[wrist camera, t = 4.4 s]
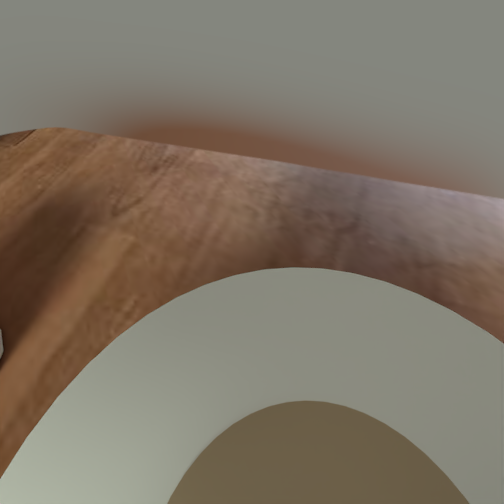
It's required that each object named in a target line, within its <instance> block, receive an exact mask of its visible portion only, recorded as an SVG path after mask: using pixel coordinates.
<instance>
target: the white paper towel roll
mask: <svg viewBox="0 0 504 504" xmlns="http://www.w3.org/2000/svg"><path fill="white" fill-rule="evenodd" d="M0 504H504V344H503V343H502V342H501V341H499V340H498V339H496V338H495V337H494V336H492V335H491V334H490V333H488V332H487V331H485V330H483V329H482V328H480V327H478V326H477V325H475V324H473V323H472V322H470V321H468V320H467V319H465V318H463V317H462V316H460V315H459V314H457V313H455V312H454V311H452V310H450V309H448V308H446V307H444V306H442V305H440V304H438V303H436V302H434V301H431V300H429V299H427V298H425V297H423V296H421V295H419V294H417V293H414V292H412V291H409V290H406V289H404V288H401V287H398V286H396V285H393V284H390V283H388V282H385V281H381V280H378V279H374V278H370V277H366V276H362V275H359V274H355V273H349V272H343V271H336V270H329V269H323V268H297V267H290V268H278V269H265V270H259V271H254V272H249V273H243V274H238V275H234V276H230V277H227V278H224V279H221V280H218V281H215V282H212V283H209V284H205V285H203V286H201V287H199V288H197V289H194V290H192V291H190V292H188V293H185V294H183V295H181V296H179V297H177V298H175V299H173V300H172V301H170V302H168V303H166V304H165V305H163V306H161V307H160V308H158V309H156V310H155V311H153V312H151V313H150V314H148V315H146V316H145V317H144V318H142V319H141V320H140V321H138V322H137V323H136V324H134V325H133V326H132V327H130V328H129V329H128V330H126V331H125V332H124V333H122V334H121V335H119V336H118V337H117V338H116V339H115V340H114V341H113V342H112V343H110V344H109V345H108V346H107V347H106V348H105V349H104V350H103V351H102V352H101V353H99V354H98V355H97V356H96V357H95V358H94V359H93V360H92V361H91V362H90V363H88V365H87V366H86V367H85V368H84V369H83V370H82V371H81V372H80V373H79V374H78V375H77V377H76V378H75V379H74V380H73V381H72V382H71V383H70V384H69V385H68V386H67V388H66V389H65V390H64V391H63V392H62V393H61V394H60V395H59V396H58V398H57V399H56V400H55V401H54V403H53V404H52V405H51V407H50V408H49V409H48V411H47V412H46V413H45V415H44V416H43V417H42V418H41V420H40V421H39V422H38V424H37V425H36V426H35V428H34V429H33V430H32V432H31V433H30V434H29V436H28V437H27V438H26V440H25V441H24V443H23V444H22V446H21V448H20V449H19V451H18V452H17V454H16V455H15V457H14V458H13V460H12V462H11V463H10V465H9V466H8V468H7V469H6V471H5V473H4V474H3V476H2V477H1V479H0Z"/></svg>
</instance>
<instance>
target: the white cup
mask: <svg viewBox="0 0 504 504" xmlns="http://www.w3.org/2000/svg"><path fill="white" fill-rule="evenodd" d="M2 353H3V342H2V333H1V329H0V359H1V356H2Z"/></svg>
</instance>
